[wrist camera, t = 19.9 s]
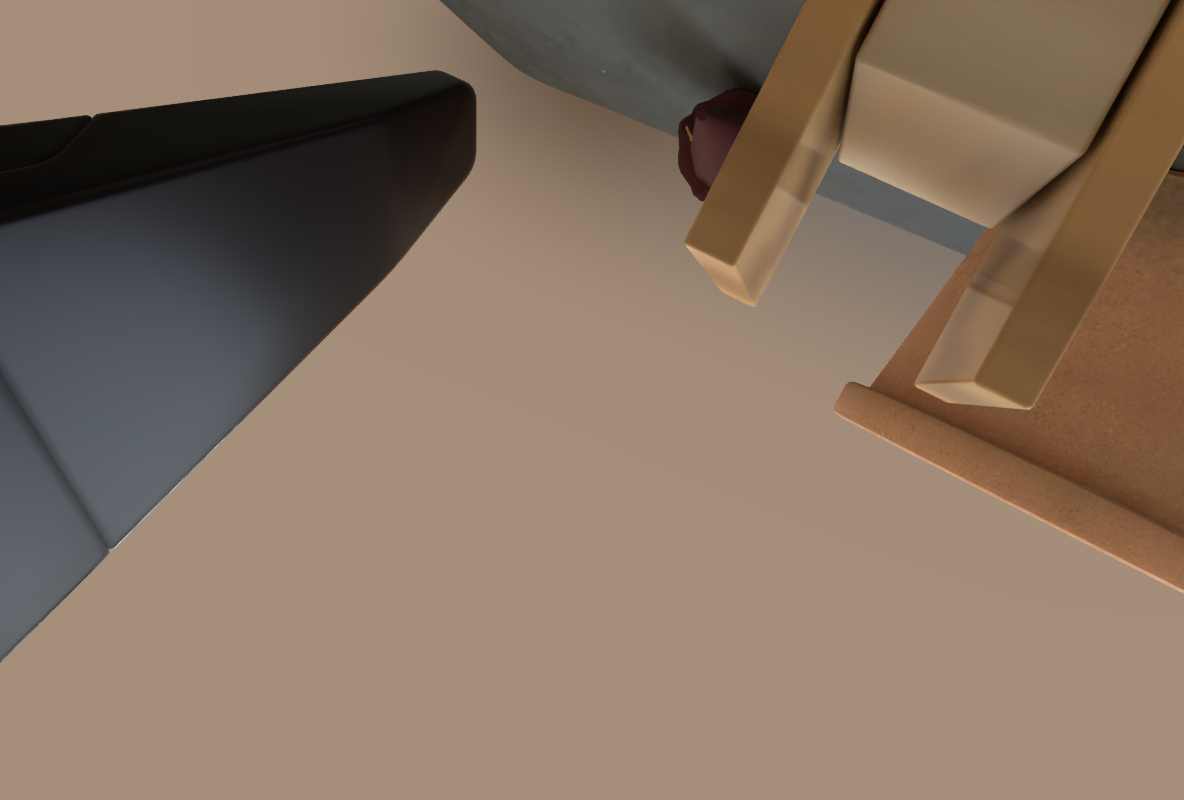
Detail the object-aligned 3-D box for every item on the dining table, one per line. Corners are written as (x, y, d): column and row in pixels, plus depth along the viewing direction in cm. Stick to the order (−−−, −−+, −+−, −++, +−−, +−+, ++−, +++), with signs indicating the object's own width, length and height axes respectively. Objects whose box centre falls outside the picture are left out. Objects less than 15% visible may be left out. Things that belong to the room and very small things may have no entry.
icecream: (608, 130, 47) (690, 187, 61) (708, 214, 45) (770, 253, 59) (691, 18, 45) (756, 103, 59) (800, 100, 43) (841, 168, 57)
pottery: (1626, 245, 25) (1346, 677, 26) (1445, 389, 43) (1285, 641, 44) (923, 77, 37) (764, 379, 39) (1011, 243, 55) (899, 444, 57)
